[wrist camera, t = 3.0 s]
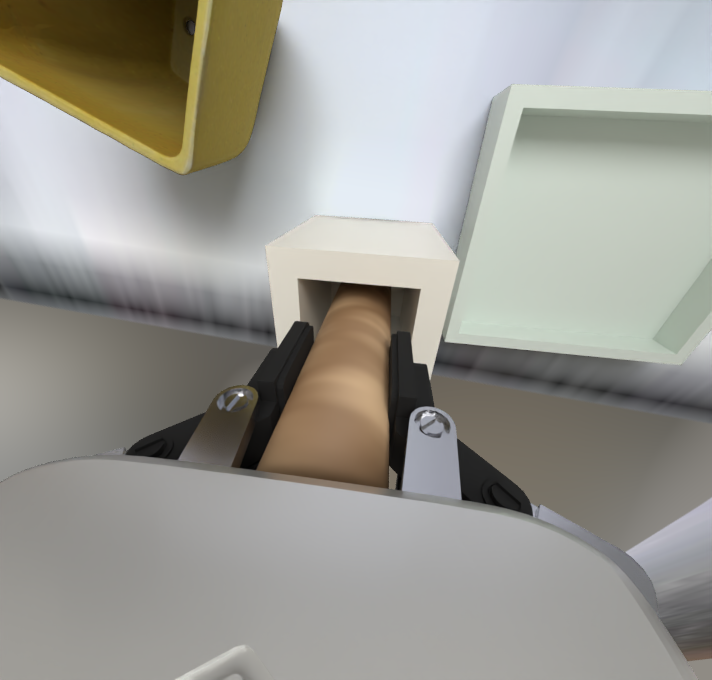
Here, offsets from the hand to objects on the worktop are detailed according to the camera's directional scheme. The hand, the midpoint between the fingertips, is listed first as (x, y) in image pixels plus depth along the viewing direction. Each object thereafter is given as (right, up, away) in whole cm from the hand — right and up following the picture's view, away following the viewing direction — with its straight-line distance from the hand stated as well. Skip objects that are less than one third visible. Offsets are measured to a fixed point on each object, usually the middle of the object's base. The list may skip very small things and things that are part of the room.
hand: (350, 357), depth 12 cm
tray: (+15, +7, +6) cm, 18 cm away
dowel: (+1, +5, +8) cm, 10 cm away
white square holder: (+1, +6, +9) cm, 11 cm away
